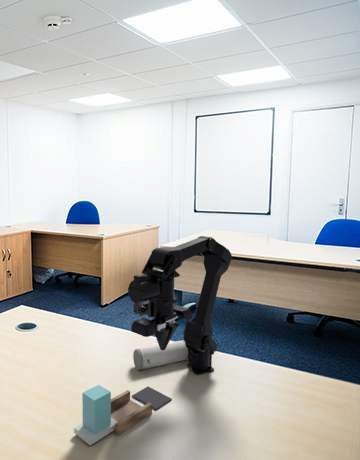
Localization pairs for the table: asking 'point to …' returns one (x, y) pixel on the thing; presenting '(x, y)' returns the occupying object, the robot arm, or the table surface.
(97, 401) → the blue pillar on plinth
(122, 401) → the track
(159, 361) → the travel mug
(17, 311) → the table surface
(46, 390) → the table surface
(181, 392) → the table surface
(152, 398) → the dark gray rectangular plate
